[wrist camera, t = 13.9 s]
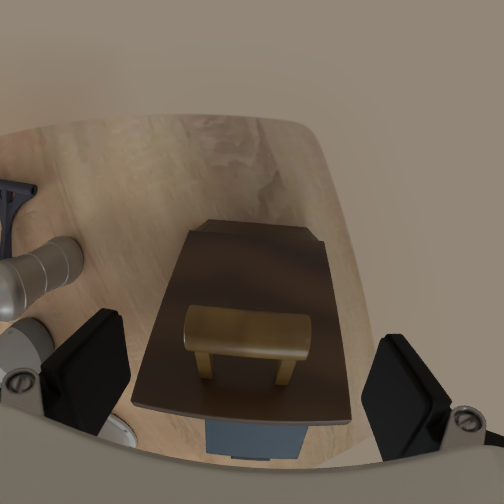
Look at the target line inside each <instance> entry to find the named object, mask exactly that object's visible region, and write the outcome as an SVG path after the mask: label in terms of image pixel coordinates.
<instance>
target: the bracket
mask: <svg viewBox="0 0 504 504" xmlns="http://www.w3.org/2000/svg"><path fill="white" fill-rule="evenodd" d="M1 190H2V197H1ZM13 192H15V197H14V199H13V201H12V193H13ZM36 193H37V186H36V185H33V184H27V183H20V182H14V181H7V180H0V220H1V227H2V230H1V243H0V260H3V259H8V258H12V254H11V222H12V219H13V217H14V214H15V213H16V211H17V210H18V208H19V207H20V206H21V205H22V204H23V203H24V202H25V201H27V200H29V199H31V198H32V197H33V196H34V195H35V194H36Z"/></svg>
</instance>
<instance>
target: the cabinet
mask: <svg viewBox="0 0 504 504" xmlns="http://www.w3.org/2000/svg"><path fill="white" fill-rule="evenodd" d="M307 429H308V426H275V425H256V424H242V423H232V422H222V421H214V420H206V419H205V432H206V453H210V454H217V455H226V456H236V457H249V458H268V459H297V458H298V456H299V453H300V450H301V447H302V444H303V441H304V438H305V435H306V432H307Z"/></svg>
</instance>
